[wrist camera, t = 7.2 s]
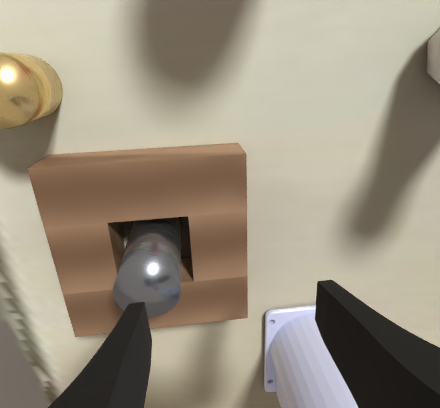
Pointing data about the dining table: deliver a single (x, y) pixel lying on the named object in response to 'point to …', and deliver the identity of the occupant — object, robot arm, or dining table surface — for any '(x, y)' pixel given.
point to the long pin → (151, 266)
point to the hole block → (143, 210)
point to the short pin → (26, 89)
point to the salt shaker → (434, 57)
